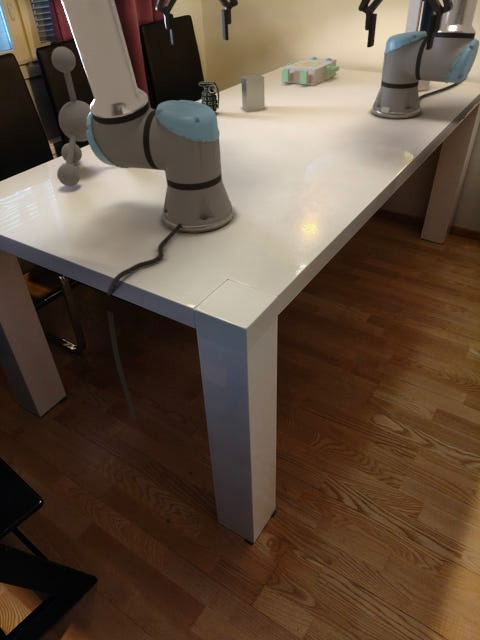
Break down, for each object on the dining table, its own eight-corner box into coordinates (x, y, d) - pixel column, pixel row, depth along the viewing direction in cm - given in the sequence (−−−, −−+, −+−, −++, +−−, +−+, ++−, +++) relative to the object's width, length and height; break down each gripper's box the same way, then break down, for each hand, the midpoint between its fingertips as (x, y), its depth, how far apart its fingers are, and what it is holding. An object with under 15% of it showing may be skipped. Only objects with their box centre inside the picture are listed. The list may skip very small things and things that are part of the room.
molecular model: (148, 176, 128) (126, 47, 109) (62, 192, 122) (23, 59, 103) (130, 150, 145) (108, 34, 127) (54, 163, 139) (20, 44, 121)
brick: (259, 105, 178) (259, 74, 171) (264, 109, 174) (264, 76, 167) (242, 108, 176) (241, 76, 170) (247, 111, 172) (246, 79, 166)
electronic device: (399, 93, 181) (413, -3, 163) (389, 89, 187) (401, -5, 168) (429, 89, 183) (446, -6, 165) (418, 85, 189) (433, -8, 171)
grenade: (199, 115, 171) (196, 84, 165) (204, 110, 175) (201, 80, 169) (217, 115, 170) (215, 84, 164) (221, 111, 174) (219, 80, 168)
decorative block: (304, 55, 215) (345, 58, 206) (303, 71, 219) (344, 74, 210) (272, 66, 199) (316, 70, 190) (273, 83, 203) (315, 88, 194)
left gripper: (238, -66, 117) (242, 36, 129) (134, -61, 111) (149, 44, 124) (248, -68, 111) (251, 39, 124) (139, -63, 106) (153, 48, 118)
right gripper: (349, -66, 102) (341, 48, 116) (476, -74, 92) (451, 53, 105) (361, -67, 107) (353, 42, 121) (483, -75, 97) (458, 46, 110)
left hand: (200, 42), depth 124 cm, fingers open, 13 cm apart
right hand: (398, 47), depth 113 cm, fingers open, 13 cm apart
